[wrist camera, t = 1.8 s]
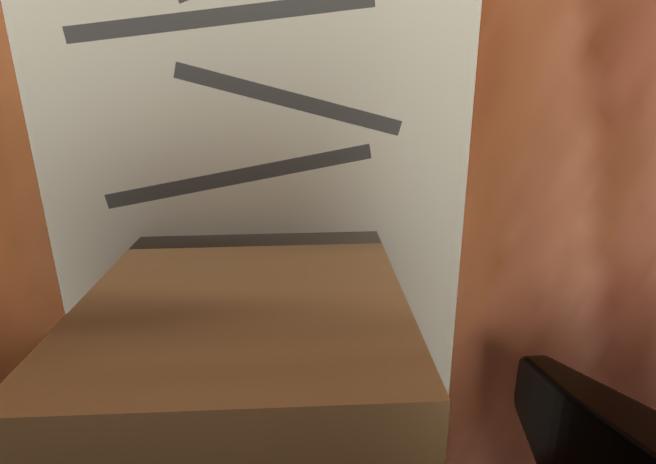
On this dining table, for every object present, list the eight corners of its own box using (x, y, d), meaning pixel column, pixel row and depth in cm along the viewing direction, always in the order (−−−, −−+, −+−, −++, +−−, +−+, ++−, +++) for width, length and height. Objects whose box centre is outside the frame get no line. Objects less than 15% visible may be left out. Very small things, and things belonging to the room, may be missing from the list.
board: (431, 425, 11) (442, 458, 10) (115, 438, 11) (97, 474, 10) (468, -89, 8) (490, -110, 7) (18, -90, 8) (-23, -112, 7)
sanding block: (370, 461, 10) (420, 755, 6) (173, 470, 10) (74, 779, 6) (376, 230, 8) (450, 400, 4) (140, 236, 8) (-35, 419, 4)
